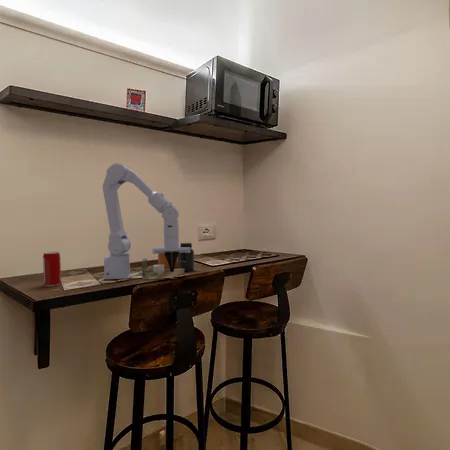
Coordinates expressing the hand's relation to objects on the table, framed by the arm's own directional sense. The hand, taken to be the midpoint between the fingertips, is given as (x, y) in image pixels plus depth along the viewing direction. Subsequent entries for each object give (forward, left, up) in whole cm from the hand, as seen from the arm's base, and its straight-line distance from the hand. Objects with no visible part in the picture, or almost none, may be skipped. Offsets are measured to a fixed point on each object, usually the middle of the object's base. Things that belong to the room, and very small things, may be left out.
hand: (172, 271), depth 139 cm
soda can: (-42, -7, -2) cm, 43 cm away
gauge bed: (-3, 0, -2) cm, 4 cm away
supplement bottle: (+6, +13, -2) cm, 14 cm away
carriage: (-5, 0, -1) cm, 5 cm away
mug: (-1, +22, -2) cm, 22 cm away
